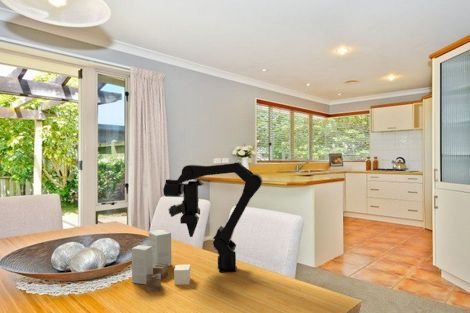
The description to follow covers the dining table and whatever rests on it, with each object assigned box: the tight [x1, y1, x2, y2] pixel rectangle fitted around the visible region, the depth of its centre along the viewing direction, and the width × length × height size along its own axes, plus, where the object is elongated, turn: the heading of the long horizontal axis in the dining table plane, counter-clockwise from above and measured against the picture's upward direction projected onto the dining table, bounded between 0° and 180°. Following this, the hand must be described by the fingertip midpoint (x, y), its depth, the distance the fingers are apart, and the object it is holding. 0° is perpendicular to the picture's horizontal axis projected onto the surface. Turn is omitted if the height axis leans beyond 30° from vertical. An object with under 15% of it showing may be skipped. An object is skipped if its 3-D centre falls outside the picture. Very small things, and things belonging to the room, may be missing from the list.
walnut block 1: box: [153, 263, 169, 280], centre depth 110 cm, size 4×4×4 cm
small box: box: [148, 229, 172, 267], centre depth 121 cm, size 8×6×13 cm
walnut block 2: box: [145, 274, 162, 293], centre depth 100 cm, size 4×4×4 cm
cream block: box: [173, 264, 191, 286], centre depth 105 cm, size 5×5×5 cm
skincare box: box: [131, 244, 153, 285], centre depth 105 cm, size 6×4×12 cm
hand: (191, 236), depth 118 cm, fingers closed
